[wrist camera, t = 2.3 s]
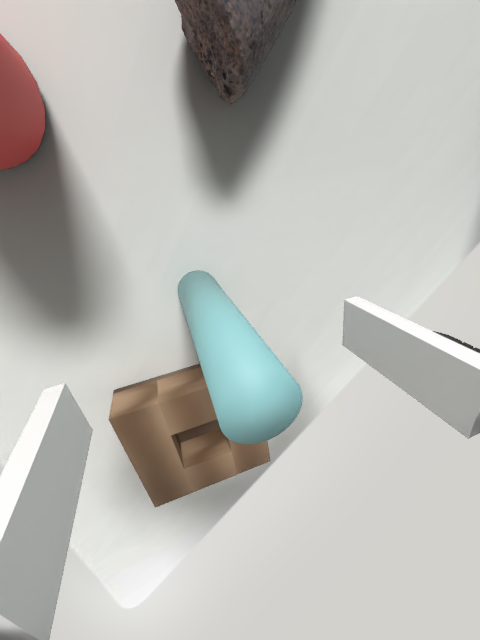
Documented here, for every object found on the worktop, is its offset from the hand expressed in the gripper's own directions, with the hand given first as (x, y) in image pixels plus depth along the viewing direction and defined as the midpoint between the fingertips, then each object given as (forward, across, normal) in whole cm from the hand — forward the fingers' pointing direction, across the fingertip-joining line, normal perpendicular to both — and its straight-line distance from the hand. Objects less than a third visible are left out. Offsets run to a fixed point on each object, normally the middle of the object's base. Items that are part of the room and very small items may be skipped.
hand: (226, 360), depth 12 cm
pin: (+10, -1, 0) cm, 10 cm away
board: (+10, +2, +13) cm, 17 cm away
